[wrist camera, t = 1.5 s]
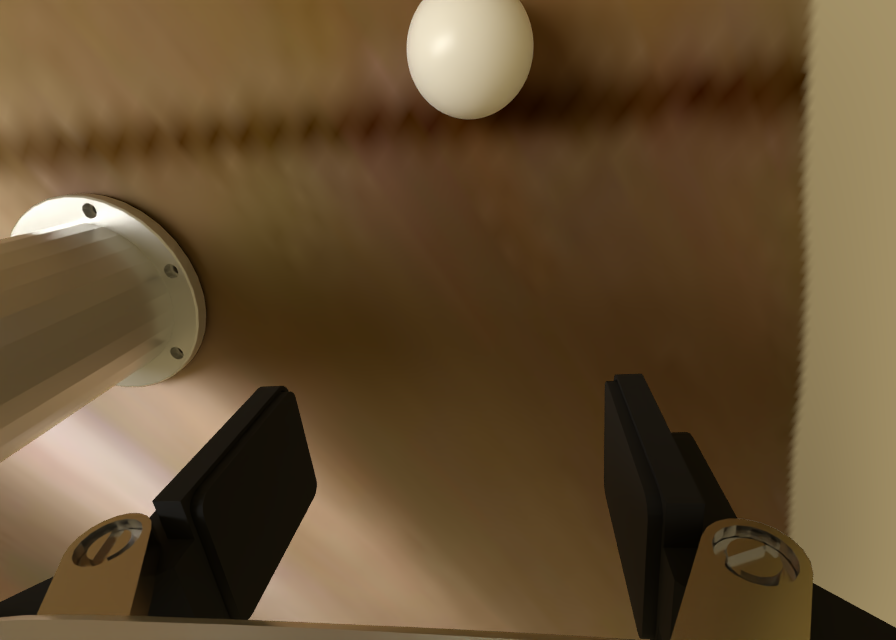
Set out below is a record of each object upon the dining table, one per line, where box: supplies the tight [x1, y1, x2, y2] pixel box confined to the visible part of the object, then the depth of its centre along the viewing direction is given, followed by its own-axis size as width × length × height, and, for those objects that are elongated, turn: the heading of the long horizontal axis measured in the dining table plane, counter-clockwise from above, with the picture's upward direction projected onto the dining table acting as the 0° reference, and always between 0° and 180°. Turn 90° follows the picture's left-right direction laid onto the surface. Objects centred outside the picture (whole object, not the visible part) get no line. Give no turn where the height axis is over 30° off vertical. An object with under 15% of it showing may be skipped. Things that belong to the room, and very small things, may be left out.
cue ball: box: [407, 0, 534, 119], centre depth 22 cm, size 6×6×6 cm
